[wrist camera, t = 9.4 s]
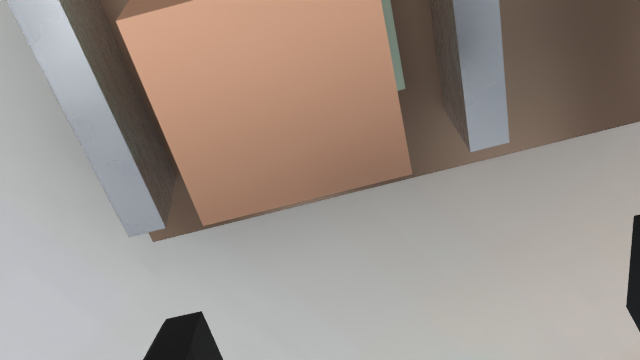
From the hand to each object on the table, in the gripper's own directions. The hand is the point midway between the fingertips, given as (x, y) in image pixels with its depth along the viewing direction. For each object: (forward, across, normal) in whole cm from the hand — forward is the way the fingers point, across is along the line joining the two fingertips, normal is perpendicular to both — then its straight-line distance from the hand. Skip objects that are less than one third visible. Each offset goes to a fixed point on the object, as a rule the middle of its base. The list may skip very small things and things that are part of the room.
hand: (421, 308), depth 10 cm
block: (+8, +2, -3) cm, 9 cm away
